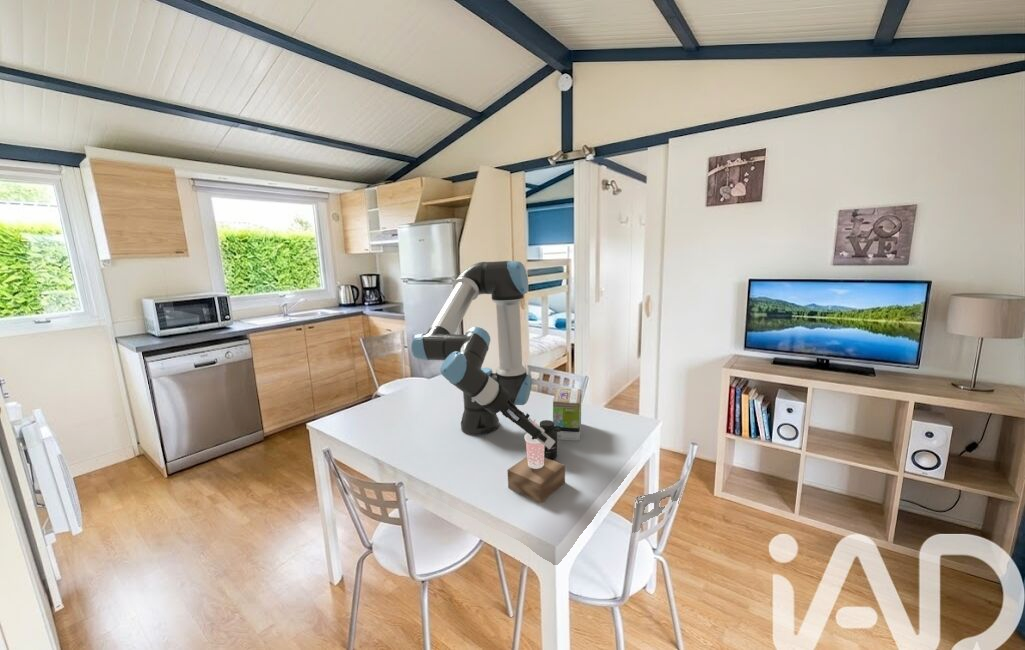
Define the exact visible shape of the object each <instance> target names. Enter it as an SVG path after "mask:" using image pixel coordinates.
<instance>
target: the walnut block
mask: <svg viewBox="0 0 1025 650" xmlns="http://www.w3.org/2000/svg"><path fill="white" fill-rule="evenodd" d="M565 467H566V465H565V464H563V463H560V462H557V461H555V460H550V459H547V458H545V457H544V465H543V467H541V468H538V469H533V468H530V467H529V466H528V459H527V456H525V457H524V458H523V459H521V460H520V461H518V462H517V463H515V464H513V465H512V466H511V467H510V468H508V469H507V488H509V489H510V490H512V491H514V492H517V493H519V494H521V495H523V496H525V497H527V498H529V499H532V500H534V501H536V502H538V503H540V504H542V503H544V502H545V501H546V500H547V499H548V498H550V496H552V494H554V493H555V492H556V491H557V490H558V489H560V487H562V486H563V485H564V484H566V468H565Z"/></svg>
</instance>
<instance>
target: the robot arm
mask: <svg viewBox="0 0 1025 650" xmlns="http://www.w3.org/2000/svg"><path fill="white" fill-rule="evenodd" d="M528 280H529V277H528V273H527V270H526V267H525V265H524V264H523V263H522V262H521V261H519V260H517V261H516V260H502V261H501V260H500V261H498V260H497V261H480V262H477V263H476V262H475V263H474V264H472V265H470V266H468V267H467V268H466V269H464V270H463V271H462V272H461V273H460V274H459V275H458V276H457V277H456V278H455V280H454V282H453V284H452V291H451V292H450V294H449V295H448V297H447V299H446V301H444V304H443V305H442V307H441V308H440V311H439V312H438V314H437V316H436V317H435V319H434V320H433V322H432V323H431V325H430V327H429V328H428V330H427V331H426V333H417V334H416V335H414V336H413V338H412V340H411V345H410V347H411V353H412V355H413V357H414V358H415V359H417V360H424V361H443V362H442V363H441V365H440V369H439V370H440V371H439V372H440V375H442V376H443V378H444V379H446V381H448V382H449V383H450V384H452V385H453V386H454V387H456V389H459V390H460V391H461V392H462V393H463V395H462V396H463V413H462V417H461V422H460V430H461V431H462V432H463V433H465V434H467V435H472V436H481V435H482V436H484V435H488V434H491V433H494V432H495V431H497V430H498V429H499V427H500V420H499V419H500V418H499V417H498V415H497V414H498V413H501V414H502V415H503V417H505V418H507V419H509V420H510V422H513V423H514V424H516V425H517V426H518V427H519V428H521V429H522V430H524V432H525V433H526V434H527V433H528V434H530V435H531V436H532V439H533V440H534V439H537V440H538V441H539V442H541V443H542V444H543V445H545V446H546V447H547V448H549V449H550V448H551V447H552V446H553V444H554V443H555V441H554V440H553V439H552V438H551V437H549V436H548V435H547V434H546V433H544V431H545V430H544V429H543V428H541V427H540V424H537V423H536V422H535V425H536V426H534V420H533V419H531V418H530V414H528V413H526V414H525V413H524V412H523V411H522V410H520V409H519V408H518V406H524V405H526V404H527V403H528V401H529V399H530V395H531V390H532V381H533V379H532V375H531V374H529V373H527V368H526V367H525V366H524V365H523V353H522V352H523V350H522V328H521V307H520V306H521V302H522V301H523V300H524V295H525V294H527V293H528V292H529V281H528ZM480 295H491V301H492V302H494V303H495V308H496V322H497V323H496V324H497V342H498V343H497V344H498V346H497V347H498V361H499V366H498V367H497V369H495V373H494V372H493V370H492V368H491V367H483V364H484V361H485V358H486V356H487V353H488V351H489V348H490V345H491V344H490V343H491V336H490V333H489V332H488V331H487V330H485V329H484V328H482V327H479V326H472V327H471V328H468V329H467V331H466V332H465V333H464V334H456V333H457V331H458V329H459V327H460V325H461V323H462V320H463V319H464V317H465V315H466V313H467V312H468V309H469V308H470V306H471V304H472V302H473V301H475V300H476V299H477V298H478V297H479V296H480Z"/></svg>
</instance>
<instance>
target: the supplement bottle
mask: <svg viewBox="0 0 1025 650" xmlns="http://www.w3.org/2000/svg"><path fill="white" fill-rule="evenodd" d="M539 426H540V427H541V428H543V429H544V430H545V431H544V433H546V434H547V435H548V436H549V437H551V438H552V439H553V440H554V441H555V443H554V444H553V446H552V447H551V448H550V449H549V448H547V447H546V446H544V457H545V458H547V459H550V460H552V461H555V459H556V458H557V457H558V439H557V432H556V430H555V429H554V422H553V420H550V419H549V420H548V419H546V420H541V421H540V422H539Z"/></svg>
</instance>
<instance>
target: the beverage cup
mask: <svg viewBox="0 0 1025 650" xmlns="http://www.w3.org/2000/svg"><path fill="white" fill-rule="evenodd" d="M533 421H534V426H536V425H535V423H536V419H533ZM523 436H524V440H525V446H526V447H525V448H526V457H527V459H528V466H529V467H530V468H533V469H538V468H541V467H543V465H544V446H545V445H543V444H542V443H541V442H539V441H538V440H537V439H534V440H533V439H532V436H531V435H530V434H528V433H527V432H526V433H525V434H524V435H523Z"/></svg>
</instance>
